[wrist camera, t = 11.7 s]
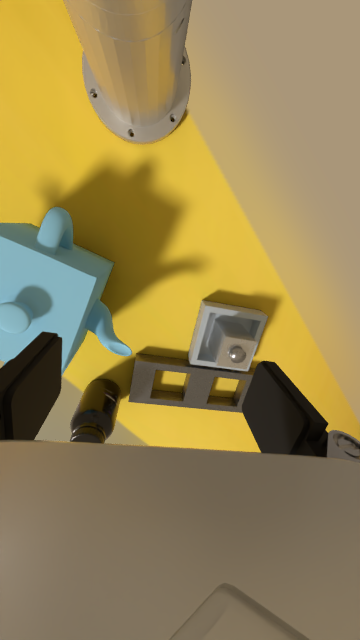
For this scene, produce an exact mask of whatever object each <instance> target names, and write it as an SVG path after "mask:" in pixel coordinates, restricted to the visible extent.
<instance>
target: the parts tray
mask: <svg viewBox="0 0 360 640" xmlns="http://www.w3.org/2000/svg"><path fill="white" fill-rule="evenodd" d="M267 318H268V316H267V315H266V314H265V313H263V312H262V311H261V310H255V309H250V308H244V307H239V306H233V305H227V304H222V303H216V302H210V301H205V300H202V302H201V306H200V310H199V314H198V318H197V321H196V325H195V329H194V333H193V337H192V341H191V345H190V349H189V353H188V358H189V361H190V364H194V365H201V366H209V367H217V368H225V369H233V370H240V371H248V370H249V367H250V364H251V362H252V359H253V356H254V354H255V351H256V348H257V345H258V343H259V340H260V337H261V335H262V332H263V329H264V327H265V324H266V321H267ZM215 319H216V320H222V321H228V322H233V323H239V324H242V325H243V327H244V328H245V329H246V330H247V331H248V332H249V333H250V335H251V336H252V337H253V338H254V339H255V340H256V341H257V343H256V346H255V348H254V351H253V354H252V356H251V359H250V362H249V364H248V367H247V370H246V369H239V368H231V367H224V366H217V365H216V363H215V360H214V358H213V356H212V354H211V351H210V349H209V347H208V345H207V344H208V340H209V337H210V333H211V330H212V326H213V323H214V320H215Z"/></svg>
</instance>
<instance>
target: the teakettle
mask: <svg viewBox="0 0 360 640" xmlns="http://www.w3.org/2000/svg"><path fill="white" fill-rule="evenodd" d="M113 266H114V262H112V261H110V260H108V259H106V258H104V257H101V256H99V255H97V254H95V253H93V252H91V251H88V250H86V249H84V248H82V247H80V246H78V245H76V244H73V223H72V219H71V216H70V215H69V213H68V212H67V211H66V210H65V209H63V208H60V207H54V208H52V209H50V210H49V211H48V213H47V214H46V216H45V218H44V220H43V222H42V224H41V227H40V228H39V227H37V226H35V225H32V224H27V223H0V360H2V361H5V363H4V365H5V364H6V363H7V362H8V361H9V360H11V359H14V358H15V357H16V356H17V355H18V354H19V353H20V352H21V351H22V350H23V349H24V348H25V347H26V346H27V345H29V344H30V343H31V342H32V341H33V340H34V339H35V338H36V337H37V336H38V335H39V334H40V333H41V332H43V331H44V332H51V333H57V334H58V337H62V374H61V376H62V375H63V373H64V371H65V370H66V368H67V367H68V365H69V363H70V362H71V360H72V359H73V357H74V355H75V354H76V352H77V351H78V349H79V347H80V346H81V344H82V343H83V341H84V339H85V336H86V334H87V331H88V330H90V331H92V332H93V333H95V334H96V335H97V336H98V339H99V341H100V342H101V343H102V345H103V346H104V347H106V348H107V349H108V350H109V351H111V352H113V353H115V354H118V355H122V356H130V355H131V354H132V351H131V349H130V348H129V347H128V346H127V345H126V344H124V343H123V342H122V341H120V340H119V339H118V338H117V337H116V335H115V333H114V330H113V323H112V316H111V313H110V311H109V309H108V308H107V306H106V305H105V304H104V303H102V302H101V301H100V299H101V296H102V294H103V291H104V289H105V286H106V284H107V281H108V279H109V276H110V273H111V271H112V268H113ZM4 365H3V366H4Z"/></svg>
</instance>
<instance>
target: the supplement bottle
mask: <svg viewBox="0 0 360 640" xmlns="http://www.w3.org/2000/svg"><path fill="white" fill-rule="evenodd" d="M120 399H121V391H120V389H119V387H118V386H117V385H116V384H115V383H114V382H112V381H110V380H106V379H99V380H95V381H93V382H91V383H90V384H89V385H88V386H87V387H86V389H85V391H84V393H83V395H82V398H81V400H80V402H79V404H78V406H77V409H76V411H75V413H74V415H73V417H72V420H71V424H70V427H71V432H72V436H71V439H70V442H85V443H104V442H105V440H106V439H107V438H108V437H109V436H110V435H111V434H112V432H113V430H114V426H115V422H116V417H117V413H118V408H119V404H120Z"/></svg>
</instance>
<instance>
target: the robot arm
mask: <svg viewBox="0 0 360 640" xmlns="http://www.w3.org/2000/svg"><path fill="white" fill-rule="evenodd" d="M63 1H64V4H65V6H66V9H67V11H68V14H69V16H70V18H71V21H72V23H73V26H74V28H75V31H76V33H77V36H78V38H79V41H80V43H81V45H82V48H83V56H82V71H83V78H84V84H85V88H86V91H87V94H88V97H89V100H90V102H91V104H92V106H93V108H94V110H95V112H96V113H97V115H98V117H99V118H100V120H101V121H102V122H103V123H104V125H105V126H106V127H107V128H108V129H109V130H110V131H111V132H113V133H114V134H115V135H116V136H118V137H120V138H121V139H123V140H125V141H128V142H131V143H134V144H152V143H155V142H157V141H160V140H162V139H163V138H165V137H167V136H168V135H169V134H170V133H171V132H172V131H173V130H174V129H175V128H176V127H177V125H178V124H179V122H180V121H181V119H182V117H183V115H184V112H185V110H186V107H187V103H188V99H189V94H190V86H191V85H190V84H191V73H190V64H189V59H188V55H187V52H186V48H185V40H186V34H187V28H188V22H189V16H190V10H191V4H192V0H63ZM181 64H183V65H181ZM94 95H97V97H96V98H94ZM171 119H174V122H171ZM131 133H133V134H134V137H131V136H130V134H131ZM61 374H62V337H58V334H57V333H51V332H44V331H43V332H41V333H40V334H39V335H38V336H37V337H36V338H35V339H34V340H33V341H32V342H31V343H30V344H29V345H27V346H26V347H25V348H24V349H23V350H22V351H21V352H20V353H19V354H18V355H17V356H16V357H15V358H14V359H11V360H9V361H8V362H7V363H6V364H5V365H4V366H3V367H2V368H0V640H360V442H359V441H358V440H357V439H355V438H354V437H352V436H350V435H349V434H346V433H344V432H341V431H337V430H332V431H330V432H329V433H328V432H327V431H326V430H325V429H326V427H327V425H328V423H327V421H326V420H325V419H324V418H323V417H322V416H321V415H320V413H319V412H318V411H317V410H316V409H315V408H314V407H313V405H312V404H311V403H310V402H309V401H308V400H307V399H306V397H305V396H304V395H303V394H302V393H301V392H300V391H299V389H298V388H297V387H296V386H295V385H294V384H293V383H292V381H291V380H290V379H289V378H288V377H287V376H286V374H285V373H284V372H283V371H282V370H281V369H280V368H279V366H278V365H277V364H276V363H275V362H269V361H262V362H261V363H259V364H258V365H257V367H256V370H255V372H254V375H253V377H252V380H251V383H250V385H249V388H248V391H247V393H246V396H245V398H244V401H243V404H242V412H243V414H244V417H245V419H246V421H247V423H248V425H249V427H250V429H251V432H252V434H253V436H254V438H255V440H256V442H257V444H258V446H259V449H260V451H261V453H258V452H242V451H227V450H210V449H194V448H177V447H160V446H142V445H122V444H104V443H85V442H67V441H46V440H45V441H44V440H34V439H35V437H36V435H37V434H38V432H39V430H40V428H41V426H42V425H43V423H44V421H45V419H46V418H47V416H48V414H49V412H50V410H51V408H52V407H53V405H54V403H55V401H56V400H57V398H58V396H59V394H60V391H61Z"/></svg>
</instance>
